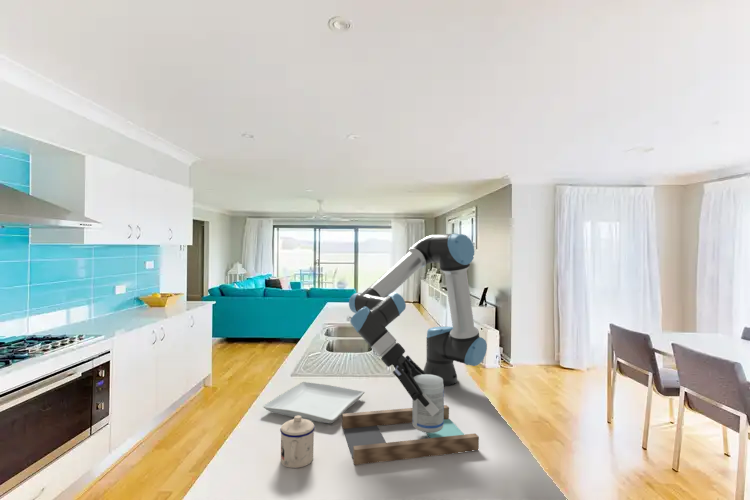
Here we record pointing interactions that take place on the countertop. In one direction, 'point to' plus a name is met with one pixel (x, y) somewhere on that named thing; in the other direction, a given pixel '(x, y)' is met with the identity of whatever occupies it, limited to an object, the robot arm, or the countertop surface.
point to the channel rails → (403, 448)
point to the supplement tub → (435, 392)
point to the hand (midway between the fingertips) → (438, 406)
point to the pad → (447, 430)
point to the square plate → (314, 402)
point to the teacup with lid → (297, 442)
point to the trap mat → (363, 436)
